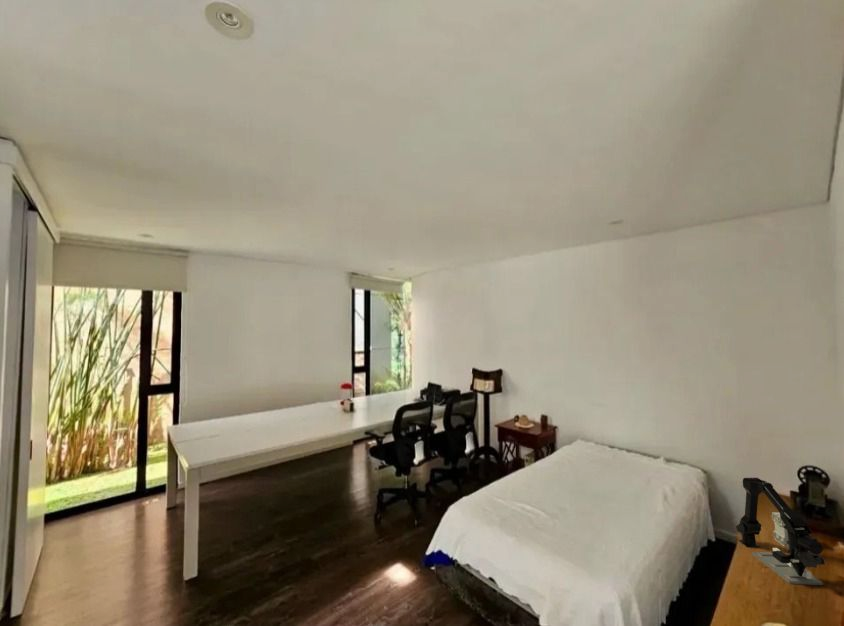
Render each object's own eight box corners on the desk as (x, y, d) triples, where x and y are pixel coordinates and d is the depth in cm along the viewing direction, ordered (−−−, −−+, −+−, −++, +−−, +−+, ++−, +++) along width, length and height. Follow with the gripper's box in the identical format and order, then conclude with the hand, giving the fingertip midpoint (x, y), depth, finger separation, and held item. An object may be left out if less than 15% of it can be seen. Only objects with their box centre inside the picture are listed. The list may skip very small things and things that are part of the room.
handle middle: (787, 564, 188) (786, 557, 189) (791, 564, 188) (791, 557, 188) (791, 567, 186) (790, 560, 186) (795, 567, 186) (795, 560, 186)
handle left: (773, 554, 197) (772, 547, 198) (777, 554, 197) (776, 547, 197) (776, 556, 195) (776, 550, 195) (781, 556, 195) (780, 550, 195)
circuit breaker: (814, 548, 203) (811, 519, 204) (784, 546, 206) (781, 518, 207) (803, 540, 210) (800, 513, 211) (774, 539, 213) (771, 512, 214)
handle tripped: (802, 575, 180) (802, 568, 180) (807, 575, 179) (806, 569, 179) (807, 578, 177) (806, 571, 177) (812, 579, 177) (811, 572, 177)
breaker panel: (752, 554, 200) (751, 551, 200) (781, 555, 198) (781, 552, 198) (789, 583, 177) (789, 580, 177) (822, 585, 175) (822, 582, 175)
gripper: (788, 551, 173) (792, 586, 172) (834, 552, 170) (838, 588, 169) (769, 538, 184) (773, 571, 183) (812, 539, 181) (816, 572, 180)
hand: (799, 575), depth 179 cm, fingers closed
